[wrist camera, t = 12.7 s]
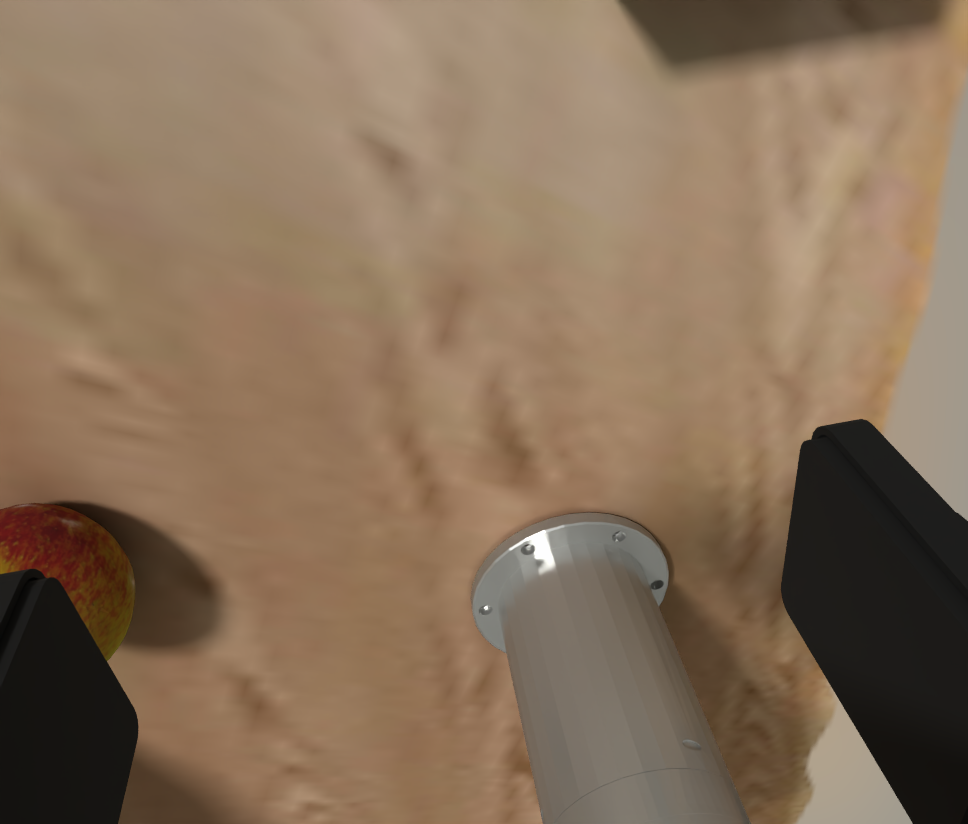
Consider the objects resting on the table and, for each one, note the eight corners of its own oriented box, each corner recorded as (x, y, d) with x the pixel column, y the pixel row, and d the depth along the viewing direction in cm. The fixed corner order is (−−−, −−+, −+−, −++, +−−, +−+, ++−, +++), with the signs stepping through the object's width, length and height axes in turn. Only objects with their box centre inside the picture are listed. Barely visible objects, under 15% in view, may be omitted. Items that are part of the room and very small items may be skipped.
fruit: (-74, 490, 41) (-150, 613, 34) (111, 460, 41) (70, 576, 35) (9, 615, 46) (-43, 742, 40) (170, 588, 47) (144, 708, 41)
